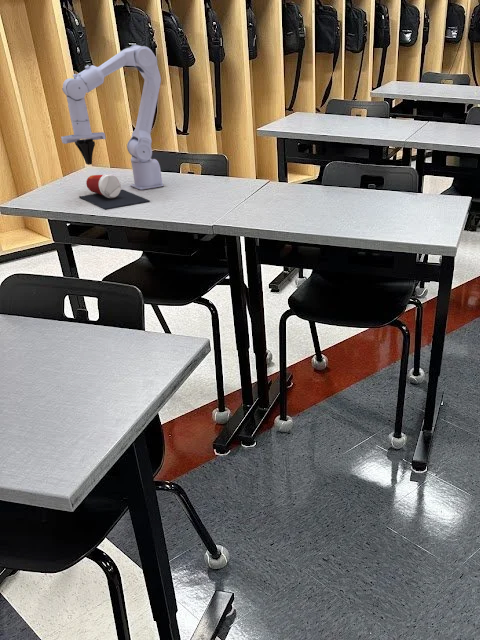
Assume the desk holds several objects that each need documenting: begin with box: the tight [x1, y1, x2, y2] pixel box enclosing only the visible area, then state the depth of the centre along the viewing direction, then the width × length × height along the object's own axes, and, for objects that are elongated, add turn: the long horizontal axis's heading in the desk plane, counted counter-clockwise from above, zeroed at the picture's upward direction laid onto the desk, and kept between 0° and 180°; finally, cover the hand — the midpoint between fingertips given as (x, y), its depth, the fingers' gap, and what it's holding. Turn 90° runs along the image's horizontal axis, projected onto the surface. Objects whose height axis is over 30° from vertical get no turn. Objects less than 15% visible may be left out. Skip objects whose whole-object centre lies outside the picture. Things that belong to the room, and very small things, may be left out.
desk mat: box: [79, 188, 151, 210], centre depth 224 cm, size 16×20×1 cm
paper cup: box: [85, 173, 122, 198], centre depth 224 cm, size 8×8×14 cm
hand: (89, 164), depth 226 cm, fingers closed
